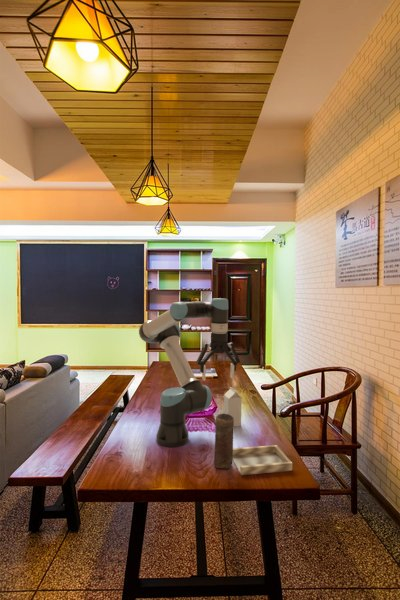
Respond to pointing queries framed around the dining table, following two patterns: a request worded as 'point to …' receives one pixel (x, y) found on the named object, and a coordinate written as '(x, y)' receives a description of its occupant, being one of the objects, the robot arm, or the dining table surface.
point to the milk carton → (233, 405)
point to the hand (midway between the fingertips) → (218, 379)
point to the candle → (224, 441)
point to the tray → (261, 460)
